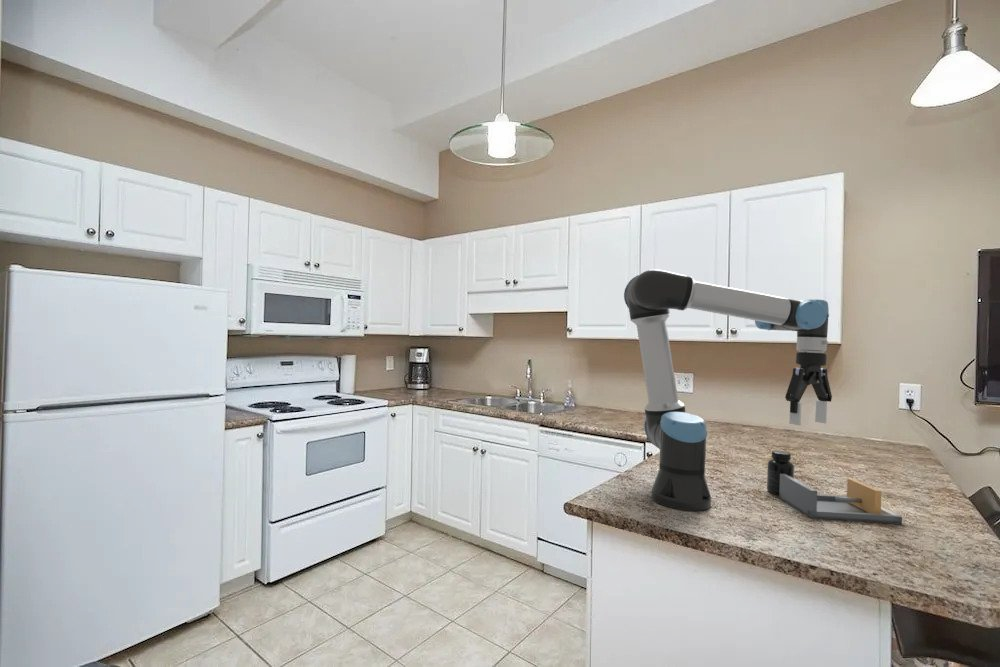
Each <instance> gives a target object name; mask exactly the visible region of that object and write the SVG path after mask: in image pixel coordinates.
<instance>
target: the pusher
mask: <svg viewBox="0 0 1000 667" xmlns="http://www.w3.org/2000/svg"><path fill="white" fill-rule="evenodd" d="M846 482H847V484H846V486H847V488H846V496H847V497H836V498H835V499H836V501H839V502H849V503H851V504H853V505H855V506H857V507H858V508H860V509H862V510H864V511H866V512H868V513H874V514H881V507H882V490H880V489H877V488H875V487H873V486H871V485H868V484H867V483H864V482H861V481H859V480H858V479H855V478H847V481H846Z"/></svg>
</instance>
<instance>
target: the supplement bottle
mask: <svg viewBox="0 0 1000 667" xmlns="http://www.w3.org/2000/svg"><path fill="white" fill-rule="evenodd" d="M791 455H792V453H790V452H788V451H783V450H771V459H769V460H768V461H767V468H766V470H767V473H766V474H767V477H766V490H767V492H769V493H772V494H773V495H778V496H779V489H780V474H786V475H788V476H790V477H792V478H794V479H795V466H794V463H793V462H791V460H792V458H791V457H792V456H791Z"/></svg>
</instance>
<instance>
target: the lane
mask: <svg viewBox="0 0 1000 667" xmlns="http://www.w3.org/2000/svg"><path fill="white" fill-rule="evenodd" d="M836 497H847V495H840V494H839V495H837V494H819V493H818V490H816V489H814V488H813V487H811V486H809V485H807V484H805V483H803V482H801V481H800V480H798V479H795V477H794V478H792V477H790V476H788V475H786V474H780V489H779V495H778V498H779V499H780V500H781V501H783V502H784V503H785V504H787V505H789V506H790V507H792V508H794V509H795V510H797V511H799V512H800V513H801V514H803V515H805V516H806V517H808V518H809V519H817V520H818V519H819V520H831V521H833V520H834V521H835V520H836V521H848V522H849V521H850V522H865V523H866V522H867V523H868V522H869V523H879V524H881V523H882V524H896V525H897V524H899V525H902V524H903V516H902V515H899V514H897V513H895V512H893V511H891V510H889V509H887V508H885V507H883V506H881V514H874V513H868V512H866V511H864V510H862V509H860V508H858V507H857V506H855V505H853V504H851V503H849V502H839V501H836V499H835V498H836Z"/></svg>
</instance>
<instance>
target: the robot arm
mask: <svg viewBox="0 0 1000 667" xmlns="http://www.w3.org/2000/svg"><path fill="white" fill-rule="evenodd" d="M623 292H624V293H623V300H624V302H625V304H626V307H627V308H628V312H629V317H630V318H629V319H630V321H631V322H632V323H633V324H635V325H636V329H637V330H636V331H637V335H638V336H637V337H638V341H639V342H638V343H639V348H640V356H641V362H642V367H643V373H644V379H645V388H646V393H647V399H648V401H647V404H646V405H645V407H644V415H645V421H644V425H643V426H644V432H645V435H646V438H647V439H648V441H649V442H650V443H651V444H652V445H653V446H655V448H657V449H659V465H658V472H657V475H656V477H655V480H654V482H653V485H652V488H651V498H652V500H653V501H654V502H656V503H657V504H659V505H662V506H664V507H668V508H671V509H676V510H682V511H689V512H690V511H692V512H693V511H694V512H695V511H696V512H698V511H706V510H708V509H710V508H711V506H712V496H711V494H710V493H711V492H710V489H709V486H708V483H707V480H706V452H707V449H706V448H707V436H708V430H707V423H706V421H705V420H704V419H703V418H702V417H700V416H699V415H696V414H692V413H688V412H686V406H685V404H684V403H683V401H681V400H679V396H678V389H677V384H676V378H675V370H674V366H673V358H672V353H671V352H672V351H671V345H670V340H669V339H670V338H669V334H668V326H667V319H668V318H669V317H670V315H671V312H670V310H677V311H682V312H683V311H685V310H687V309H692V310H698V311H702V312H708V313H714V314H719V315H725V316H728V317H734V318H741V319H746V320H750V321H754V324H755V326H756V327H757V329H760V330H765V331H785V332H786V331H789V332H796V334H797V335H796V348H795V349H796V351H797V352H796V353H795V364H796V365H800V367H793V369H792V375H791V378H790V381H789V384H788V387H787V391H786V393H785V401H787V402H789V403H790V404H789V424H790V425H795V426H801V424H802V423H801V422H802V421H801V420H802V419H801V418H802V402H800V401H801V399H802V398H803V395H804V394H805V392H806V389H807V388H808V386H810V385H811V386H812V388H813V391H814V393H815V396H816V397H817V400H816V401H815V414H814V415H815V418H814V422H815V423H821V424H827V415H828V414H827V411H828V402H829V403H830V402H832V399H833V395H832V390H831V386H830V382H829V378H828V377H829V376H828V369H827V368H821V367H824V366H826V365H827V356H828V355H827V354H826V353H825V352H826V351H827V346H828V344H829V342H828V332H829V331H828V330H829V317H830V314H829V310H830V309H829V308H830V307H829V303H828V301H826V300H824V299H818V298H817V299H812V298H811V299H800V300H799V299H793V298H786V297H782V296H776V295H770V294H765V293H760V292H755V291H750V290H745V289H739V288H734V287H727V286H723V285H718V284H712V283H708V282H703V281H702V282H701V281H697V280H695V279H694V278H693V277H692V276H690V275H685V274H681V273H676V272H672V271H667V270H663V269H649V270H646V271H643V272H642V273H640V274H639V275H636V276H634V277H633V278H632V279H630V281H629V282H627V284H626V286H625V288H624V291H623Z"/></svg>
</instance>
